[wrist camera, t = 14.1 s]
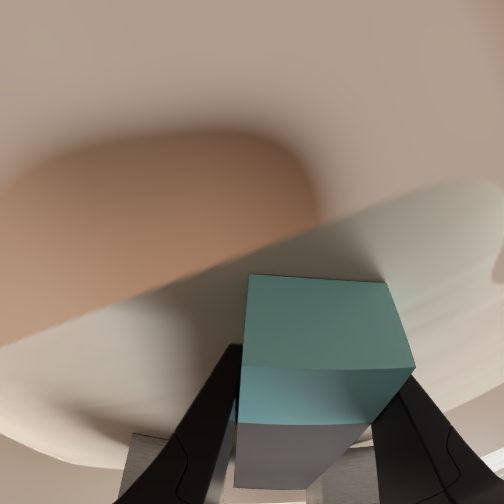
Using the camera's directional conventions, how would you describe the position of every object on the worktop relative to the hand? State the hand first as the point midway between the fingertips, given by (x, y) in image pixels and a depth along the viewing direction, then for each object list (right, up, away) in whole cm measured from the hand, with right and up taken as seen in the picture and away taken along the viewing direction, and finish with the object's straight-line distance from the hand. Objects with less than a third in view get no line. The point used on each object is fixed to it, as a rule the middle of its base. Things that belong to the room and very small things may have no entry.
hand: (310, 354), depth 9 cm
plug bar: (0, -3, +3) cm, 4 cm away
